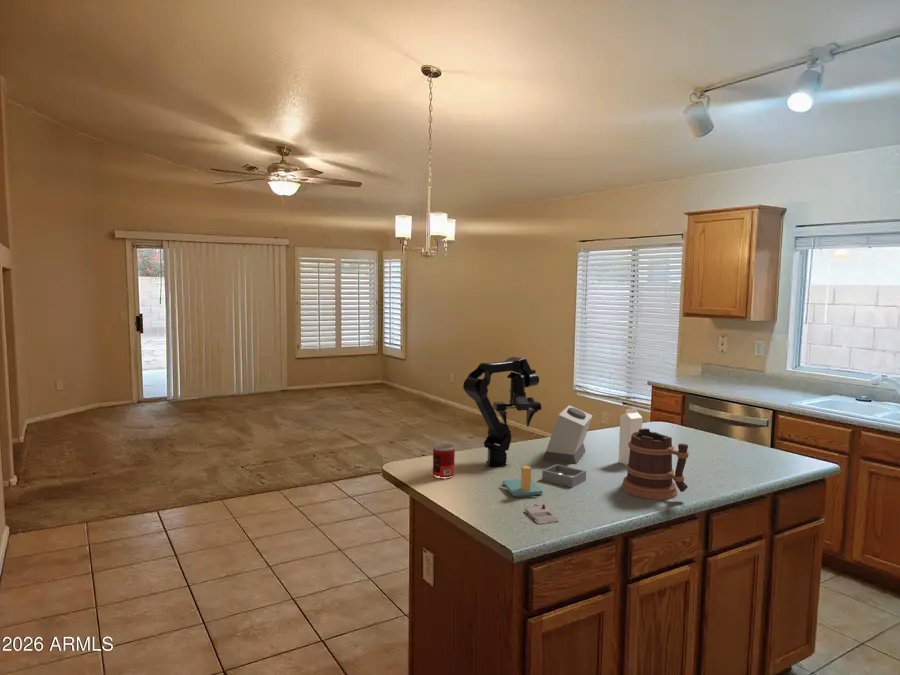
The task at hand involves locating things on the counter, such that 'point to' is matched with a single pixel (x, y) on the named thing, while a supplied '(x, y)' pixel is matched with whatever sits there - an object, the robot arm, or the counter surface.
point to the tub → (563, 479)
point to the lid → (523, 484)
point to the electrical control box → (541, 514)
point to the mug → (654, 466)
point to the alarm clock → (568, 436)
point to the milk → (628, 432)
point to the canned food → (443, 460)
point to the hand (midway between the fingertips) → (516, 427)
